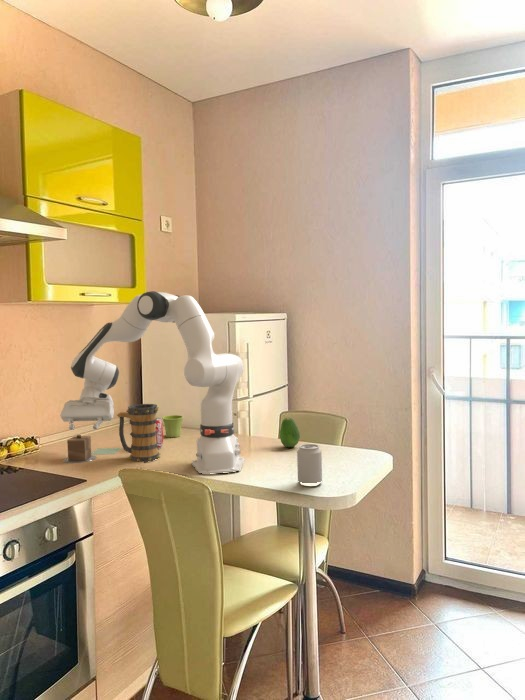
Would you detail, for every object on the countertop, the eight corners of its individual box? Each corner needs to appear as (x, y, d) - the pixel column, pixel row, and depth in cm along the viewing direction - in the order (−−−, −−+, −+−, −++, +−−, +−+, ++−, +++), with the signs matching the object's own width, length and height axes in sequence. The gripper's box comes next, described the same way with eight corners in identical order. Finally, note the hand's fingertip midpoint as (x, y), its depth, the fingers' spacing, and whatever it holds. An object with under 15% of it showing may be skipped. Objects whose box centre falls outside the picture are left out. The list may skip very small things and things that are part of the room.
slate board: (93, 463, 205) (93, 461, 205) (59, 465, 203) (59, 463, 203) (99, 455, 217) (99, 454, 217) (67, 457, 215) (67, 456, 215)
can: (320, 480, 175) (319, 442, 174) (324, 487, 167) (323, 447, 167) (296, 481, 174) (295, 443, 174) (299, 488, 167) (298, 448, 166)
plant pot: (188, 435, 250) (187, 416, 249) (174, 439, 242) (173, 419, 241) (172, 433, 254) (171, 414, 254) (158, 437, 247) (157, 418, 246)
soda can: (165, 446, 229) (164, 417, 228) (160, 450, 222) (159, 420, 221) (148, 446, 230) (147, 417, 229) (143, 450, 223) (142, 420, 222)
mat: (114, 455, 216) (114, 454, 216) (89, 455, 217) (89, 454, 217) (122, 449, 226) (122, 448, 226) (98, 449, 227) (98, 448, 227)
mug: (153, 464, 201) (150, 409, 200) (110, 462, 205) (107, 408, 204) (167, 455, 213) (165, 403, 212) (127, 453, 217) (125, 403, 216)
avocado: (276, 447, 220) (275, 417, 220) (290, 444, 225) (289, 415, 225) (289, 451, 214) (288, 420, 213) (304, 447, 219) (303, 417, 218)
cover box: (75, 456, 213) (73, 433, 213) (91, 456, 213) (90, 433, 212) (68, 461, 207) (67, 437, 206) (85, 460, 207) (84, 437, 206)
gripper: (63, 395, 221) (54, 424, 212) (113, 394, 220) (106, 423, 211) (68, 405, 226) (59, 434, 217) (117, 404, 225) (111, 433, 216)
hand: (83, 429), depth 214 cm, fingers open, 8 cm apart
